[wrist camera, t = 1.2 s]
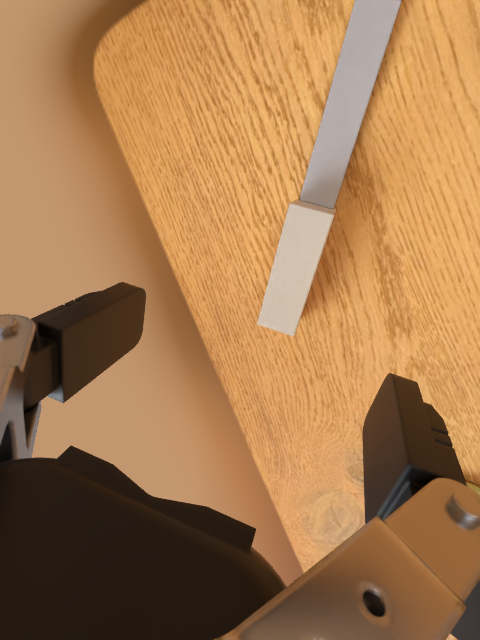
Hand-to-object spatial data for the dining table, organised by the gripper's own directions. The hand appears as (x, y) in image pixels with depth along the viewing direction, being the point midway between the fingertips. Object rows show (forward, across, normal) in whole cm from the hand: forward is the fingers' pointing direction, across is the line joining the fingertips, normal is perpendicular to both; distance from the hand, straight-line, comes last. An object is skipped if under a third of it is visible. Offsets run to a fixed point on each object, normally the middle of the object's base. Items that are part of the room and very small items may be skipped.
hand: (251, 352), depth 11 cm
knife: (+14, 0, -4) cm, 15 cm away
